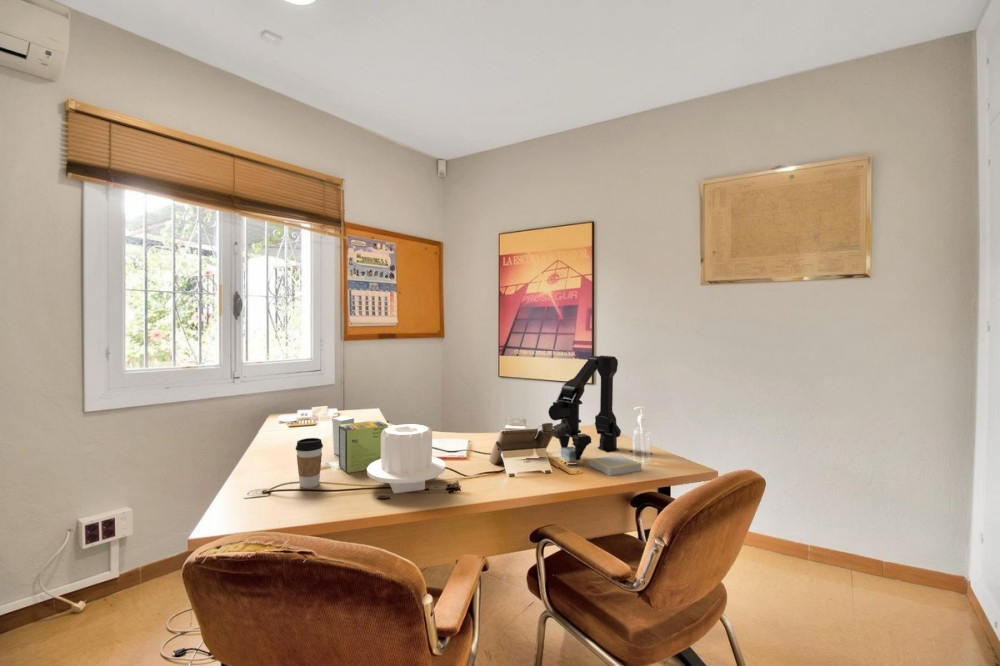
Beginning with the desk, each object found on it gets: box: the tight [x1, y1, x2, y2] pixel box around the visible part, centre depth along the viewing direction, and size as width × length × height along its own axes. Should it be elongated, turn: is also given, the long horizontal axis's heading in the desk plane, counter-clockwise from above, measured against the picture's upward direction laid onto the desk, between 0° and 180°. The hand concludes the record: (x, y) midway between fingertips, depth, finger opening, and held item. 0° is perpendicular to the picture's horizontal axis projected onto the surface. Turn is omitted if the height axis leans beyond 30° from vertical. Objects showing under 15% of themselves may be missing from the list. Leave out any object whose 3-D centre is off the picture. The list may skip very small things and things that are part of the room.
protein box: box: [338, 419, 389, 474], centre depth 173 cm, size 10×15×16 cm
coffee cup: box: [295, 437, 324, 489], centre depth 153 cm, size 8×8×15 cm
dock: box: [589, 454, 642, 477], centre depth 173 cm, size 14×12×3 cm
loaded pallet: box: [558, 446, 584, 465], centre depth 180 cm, size 7×6×5 cm
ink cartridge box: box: [504, 417, 527, 432], centre depth 188 cm, size 9×5×15 cm, turn 84°
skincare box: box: [331, 415, 355, 456], centre depth 187 cm, size 8×6×15 cm
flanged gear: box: [366, 423, 446, 494], centre depth 152 cm, size 25×25×19 cm
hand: (570, 456), depth 180 cm, fingers open, 9 cm apart
